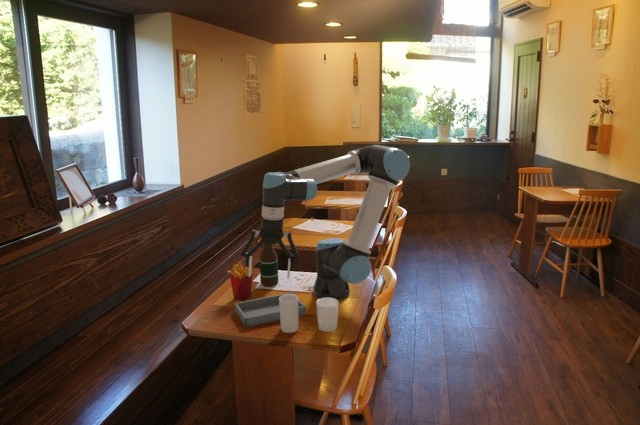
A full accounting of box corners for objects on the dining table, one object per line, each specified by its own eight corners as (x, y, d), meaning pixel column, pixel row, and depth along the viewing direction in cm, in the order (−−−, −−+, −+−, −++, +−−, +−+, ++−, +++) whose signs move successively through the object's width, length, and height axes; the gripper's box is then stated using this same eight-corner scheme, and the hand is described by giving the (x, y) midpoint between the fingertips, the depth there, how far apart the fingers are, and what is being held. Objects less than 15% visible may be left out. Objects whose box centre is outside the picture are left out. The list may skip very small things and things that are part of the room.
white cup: (316, 323, 191) (315, 297, 189) (337, 322, 192) (337, 296, 189) (317, 333, 184) (317, 307, 181) (339, 332, 184) (339, 306, 182)
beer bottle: (260, 281, 231) (257, 229, 225) (277, 279, 232) (275, 227, 226) (261, 287, 224) (258, 234, 218) (279, 286, 225) (277, 233, 219)
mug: (293, 334, 183) (292, 303, 180) (276, 331, 186) (275, 300, 183) (306, 322, 192) (305, 292, 189) (290, 319, 195) (289, 289, 191)
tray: (292, 300, 211) (292, 292, 210) (306, 315, 198) (305, 306, 197) (235, 311, 202) (234, 303, 201) (245, 327, 189) (245, 318, 188)
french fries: (254, 296, 215) (252, 262, 211) (240, 304, 208) (238, 268, 204) (237, 292, 220) (235, 258, 216) (224, 299, 213) (221, 264, 209)
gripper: (234, 217, 176) (232, 277, 180) (308, 222, 177) (304, 281, 182) (237, 213, 183) (234, 270, 188) (308, 217, 185) (304, 274, 189)
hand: (269, 276), depth 185 cm, fingers open, 13 cm apart
